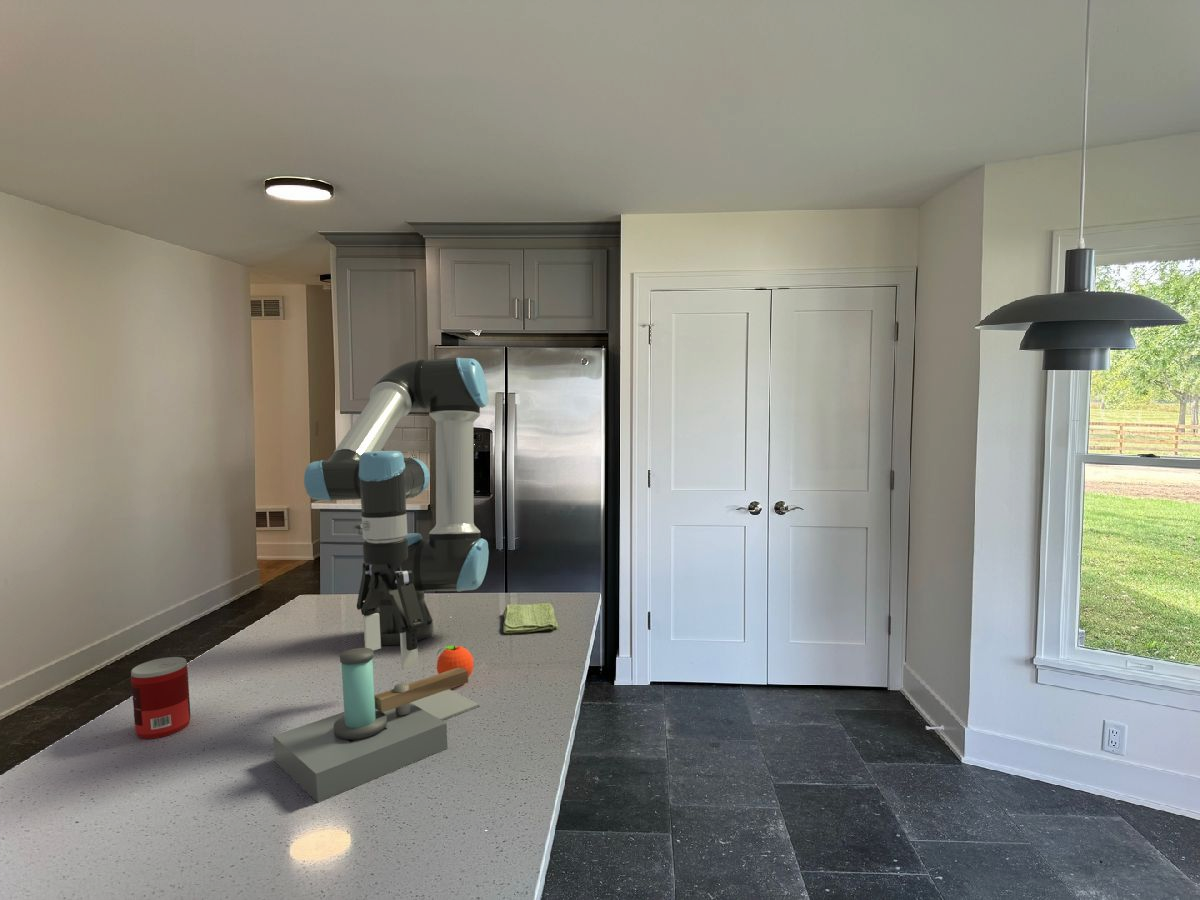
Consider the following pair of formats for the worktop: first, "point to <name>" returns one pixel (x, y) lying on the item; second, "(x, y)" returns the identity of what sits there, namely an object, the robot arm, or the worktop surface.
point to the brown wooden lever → (418, 690)
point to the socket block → (356, 751)
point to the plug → (358, 697)
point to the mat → (445, 704)
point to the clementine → (455, 659)
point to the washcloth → (529, 618)
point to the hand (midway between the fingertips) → (390, 658)
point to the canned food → (160, 697)
